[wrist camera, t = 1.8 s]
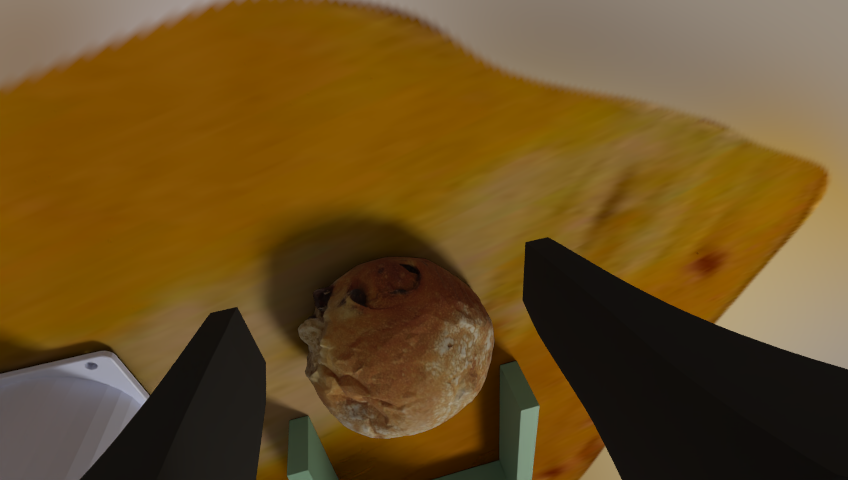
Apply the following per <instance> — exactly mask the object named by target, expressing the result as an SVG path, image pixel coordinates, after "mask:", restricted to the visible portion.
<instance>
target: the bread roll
mask: <svg viewBox="0 0 848 480" xmlns="http://www.w3.org/2000/svg"><path fill="white" fill-rule="evenodd" d="M313 297H314V301H315V306H316V308H315V311H314V314H313V315H312V316H309V318H308V319H307V320H305V322H304V323H302V324H301V325H300V326H299V328H298V332H299V337H300V338H301V339H302V340H303V341H304V342H305V343H306V344H308V346H309V354H308V356H307V367H306V370H305V374H306V376H307V377H308V378H309V380H310V381H311V383H312V384H313V385H314V387H315V390H316V392H317V394H318V396H319V398H320V399H321V401H322V402H323V404H324V405H325V406H326V407H327V408H328V410H329V411H330V412H331V413H332V414H333V415H334V416H335V417H336V418H337V419H338V420H339V421H340V422H341V423H342V424H343V425H344V426H345V427H347V428H349V429H351V430H353V431H355V432H357V433H360V434H362V435H365V436H368V437H371V438H386V439H389V438H393V437H402V436H405V435H414V434H417V433H421V432H424V431H427V430H429V429H432V428H434V427H436V426H438V425H440V424H442V423H443V422H445V421H447V420H448V419H450V418H451V417H453V416H454V415H455V414H457V413H458V412H459V411H460V410H461V409H462V408H464V407H465V406H466V405H467V404H468V403H470V402H471V401H472V400H473V399H474V398H475V397H476V396H477V394H478V393H479V391H480V390H481V388H482V386H483V384H484V382H485V379H486V376H487V373H488V369H489V366H490V363H491V358H492V350H493V347H494V334H493V326H492V322H491V319H490V317H489V315H488V313H487V312H486V310H485V308H484V307H483V305H482V303H481V301H480V299H479V297H478V296H477V295H476V294H475V293H474V292H473V290H472V289H471V288H470V287H469V286H468V285H467V284H466V283H464V282H463V281H461V280H460V279H459V278H458V277H457V276H454V275H452V274H451V273H450V272H449V271H447V270H445V269H444V268H442V267H440V266H438V265H437V264H435V263H433V262H431V261H429V260H427V259H424V258H411V257H384V258H380V259H376V260H372V261H369V262H366V263H362V264H359V265H357V266H355V267H354V268H352V269H351V270H350V271H348V272H347V273H345V274H344V275H343V276H341V277H340V278H338V279H337V280H336V281H335V282H333V283H332V284H331V285H330V286H328V287H325V288H321V289H317V290H315V291H314V292H313Z"/></svg>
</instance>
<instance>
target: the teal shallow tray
mask: <svg viewBox="0 0 848 480" xmlns="http://www.w3.org/2000/svg"><path fill="white" fill-rule="evenodd" d="M538 414H539V404H538V402H537V400H536V398H535V396H534V394H533V392H532V390H531V388H530V386H529V384H528V382H527V380H526V378H525V376H524V374H523V373H522V371H521V369H520V367H519V365H518V363H517V361H514V362H511V363H507V364H503V365H500V431H499V460H498V461H495V462H491V463H488V464H484V465H481V466H477V467H474V468H471V469H467V470H464V471H460V472H457V473H454V474H450V475H447V476H443V477H440V478H436V479H433V480H532V472H533V462H534V452H535V443H536V433H537V424H538ZM287 477H288V478H289V480H339V479H338V477H337V475H336V473H335V471H334V469H333V467H332V465H331V463H330V461H329V458H328V456H327V454H326V452H325V450H324V448H323V446H322V444H321V442H320V439H319V437H318V435H317V433H316V431H315V429H314V427H313V425H312V423H311V421H310V418H309V416H305V417H301V418H298V419H294V420H290V421H289V440H288V464H287Z"/></svg>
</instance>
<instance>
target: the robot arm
mask: <svg viewBox="0 0 848 480" xmlns="http://www.w3.org/2000/svg"><path fill="white" fill-rule="evenodd" d="M523 302H524V304H525V307H526V309H527V311H528V313H529V316H530V318H531V320H532V322H533V324H534V326H535V328H536V330H537V332H538V334H539V336H540V338H541V339H542V341H543V342H544V344H545V346H546V347H547V349H548V350H549V352H550V354H551V355H552V357H553V358H554V360H555V362H556V363H557V365H558V366H559V368H560V369H561V371H562V373H563V374H564V376H565V377H566V379H567V380H568V382H569V384H570V385H571V387H572V388H573V390H574V391H575V393H576V395H577V396H578V398H579V399H580V401H581V402H582V404H583V406H584V407H585V409H586V411H587V412H588V414H589V416H590V418H591V419H592V421H593V423H594V425H595V427H596V429H597V430H598V432H599V434H600V436H601V438H602V440H603V442H604V444H605V446H606V448H607V450H608V452H609V454H610V456H611V458H612V460H613V462H614V464H615V466H616V468H617V470H618V472H619V475H620V476H621V479H622V480H848V369H845V368H841V367H838V366H834V365H831V364H828V363H824V362H821V361H817V360H814V359H811V358H808V357H805V356H802V355H799V354H795V353H792V352H789V351H786V350H783V349H780V348H777V347H774V346H772V345H769V344H766V343H763V342H760V341H758V340H755V339H752V338H749V337H746V336H744V335H741V334H738V333H736V332H733V331H730V330H728V329H725V328H723V327H720V326H718V325H715V324H713V323H711V322H708V321H706V320H704V319H701V318H699V317H697V316H694V315H692V314H690V313H687V312H685V311H683V310H681V309H678V308H676V307H674V306H672V305H670V304H668V303H666V302H664V301H662V300H660V299H658V298H656V297H654V296H652V295H650V294H648V293H646V292H644V291H642V290H640V289H638V288H636V287H634V286H632V285H630V284H629V283H627V282H625V281H623V280H621V279H619V278H618V277H616V276H614V275H612V274H610V273H609V272H607V271H605V270H603V269H602V268H600V267H598V266H597V265H595V264H593V263H591V262H590V261H588V260H586V259H585V258H583V257H581V256H580V255H578V254H576V253H574V252H573V251H571V250H569V249H568V248H566V247H564V246H563V245H561V244H559V243H557V242H556V241H554V240H552V239H550V238H548V237H547V238H543V239H538V240H534V241H529V242H526V244H525V264H524V283H523ZM91 362H92V363H91ZM265 405H266V362H265V360H264V358H263V356H262V354H261V352H260V350H259V348H258V346H257V345H256V343H255V341H254V339H253V337H252V335H251V333H250V331H249V329H248V327H247V325H246V323H245V321H244V319H243V317H242V315H241V313H240V311H239V310H238V308H237V307H235V308H231V309H226V310H222V311H217V312H213V313H210V314H209V316H208V317H207V318H206V320H205V321H204V323H203V324H202V325H201V327H200V328H199V329H198V331H197V332H196V334H195V335H194V336H193V338H192V339H191V341H190V342H189V343H188V345H187V346H186V348H185V349H184V350H183V352H182V353H181V355H180V356H179V357H178V359H177V360H176V362H175V363H174V364H173V366H172V367H171V368H170V370H169V371H168V372H167V374H166V375H165V377H164V378H163V379H162V381H161V382H160V383H159V385H158V386H157V387H156V389H155V390H154V391H153V393H152V394H151V395H150V396H149V394H148V393H147V392H146V391H145V390H144V388H143V387H142V386H141V385H140V384H139V382H138V381H137V380H136V379H135V378H134V376H133V375H132V374H131V373H130V371H129V370H128V369H127V368H126V367H125V365H124V364H123V363H122V362H121V361H120V359H119V358H118V357H117V356H116V355H115V354H114V353H112V352H110V351H98V352H94V353H89V354H85V355H81V356H76V357H72V358H67V359H63V360H59V361H54V362H50V363H46V364H41V365H37V366H33V367H28V368H24V369H20V370H15V371H11V372H7V373H2V374H0V480H256V475H257V467H258V460H259V452H260V445H261V437H262V429H263V421H264V414H265Z"/></svg>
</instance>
